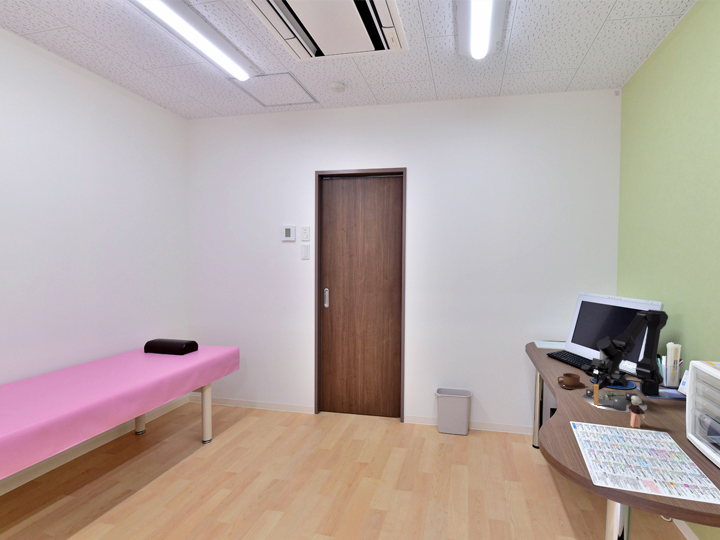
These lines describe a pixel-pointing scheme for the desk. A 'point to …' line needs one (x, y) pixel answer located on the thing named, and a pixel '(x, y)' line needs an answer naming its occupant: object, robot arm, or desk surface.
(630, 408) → the grandmother figurine
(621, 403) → the grey and tan piece
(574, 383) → the cup and saucer
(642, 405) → the levelling plate
